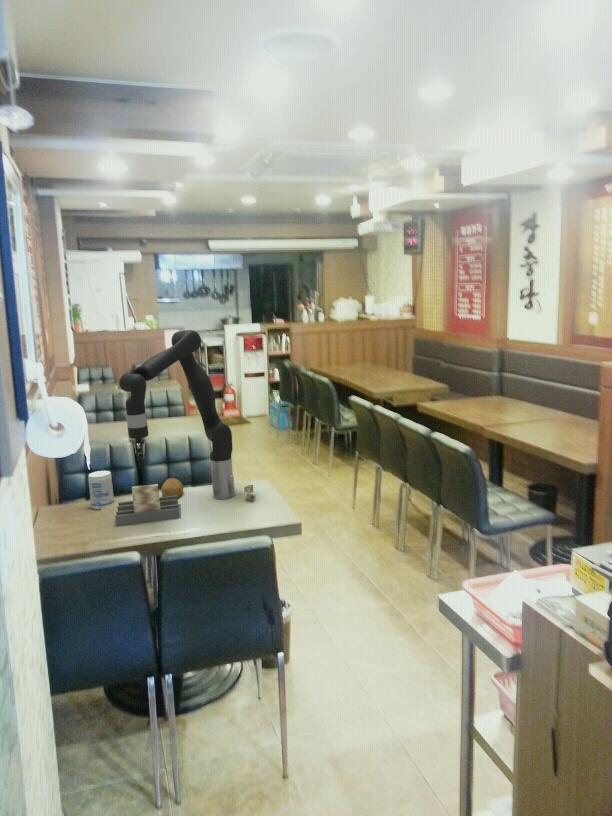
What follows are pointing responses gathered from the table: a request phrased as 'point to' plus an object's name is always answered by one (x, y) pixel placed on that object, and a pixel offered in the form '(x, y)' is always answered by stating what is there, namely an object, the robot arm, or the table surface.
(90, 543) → the table surface
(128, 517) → the rack
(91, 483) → the supplement tub
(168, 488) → the potato
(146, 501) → the sheet
